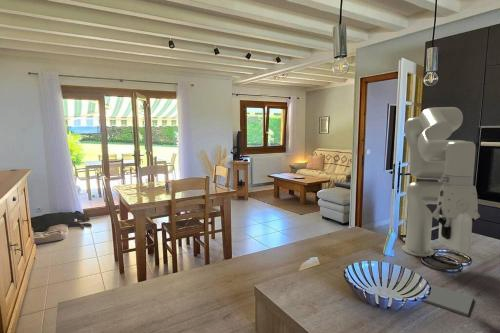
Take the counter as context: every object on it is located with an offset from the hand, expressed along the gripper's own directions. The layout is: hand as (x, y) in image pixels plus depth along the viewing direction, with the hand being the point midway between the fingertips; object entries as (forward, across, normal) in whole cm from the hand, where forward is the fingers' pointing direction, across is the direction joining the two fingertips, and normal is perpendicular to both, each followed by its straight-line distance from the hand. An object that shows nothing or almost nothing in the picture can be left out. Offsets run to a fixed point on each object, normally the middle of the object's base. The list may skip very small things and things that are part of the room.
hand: (454, 237), depth 95 cm
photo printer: (+4, 0, 0) cm, 4 cm away
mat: (+20, -2, -2) cm, 20 cm away
